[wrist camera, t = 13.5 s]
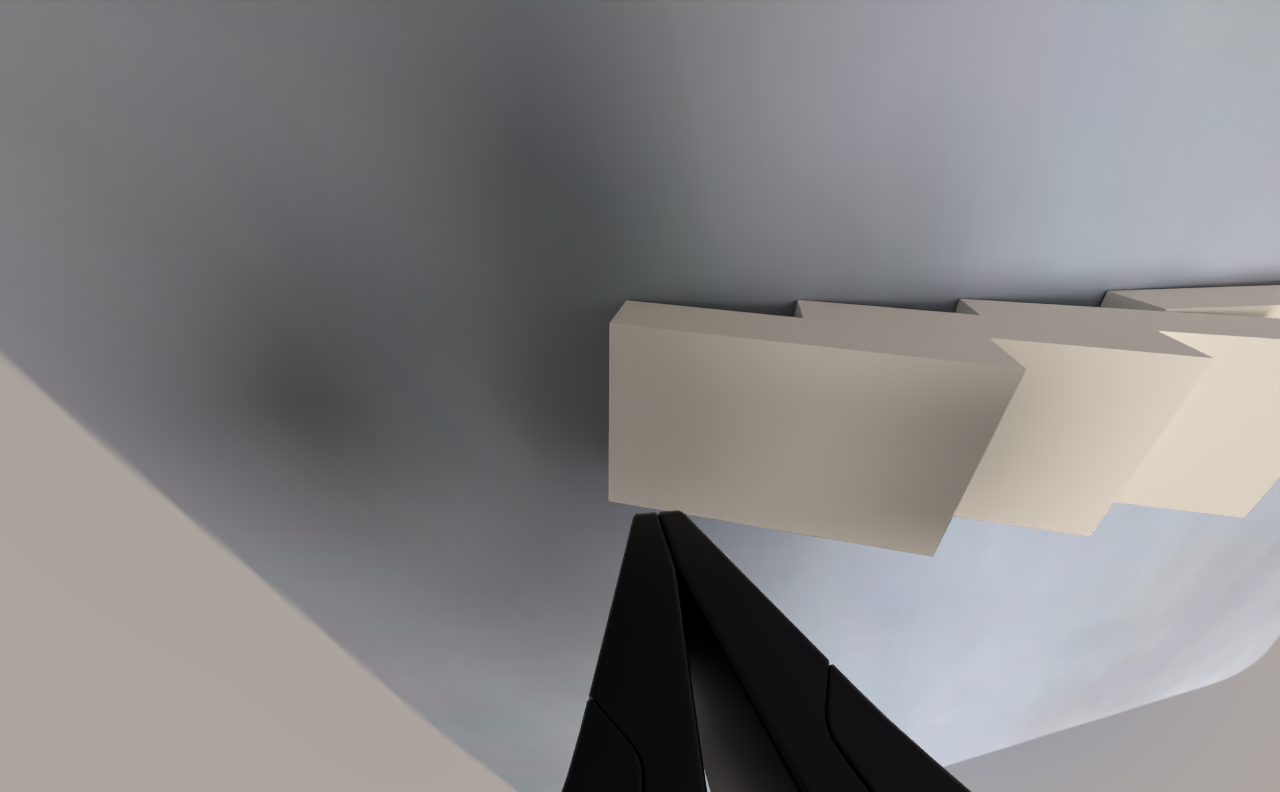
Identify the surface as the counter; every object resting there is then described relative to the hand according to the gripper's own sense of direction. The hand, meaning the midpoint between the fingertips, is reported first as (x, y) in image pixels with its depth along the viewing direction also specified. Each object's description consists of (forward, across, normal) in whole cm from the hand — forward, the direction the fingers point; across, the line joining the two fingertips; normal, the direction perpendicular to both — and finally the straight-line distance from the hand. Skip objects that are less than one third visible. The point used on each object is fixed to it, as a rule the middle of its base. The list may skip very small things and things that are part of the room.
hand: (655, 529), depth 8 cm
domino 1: (+4, 0, 0) cm, 4 cm away
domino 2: (+4, -4, 0) cm, 6 cm away
